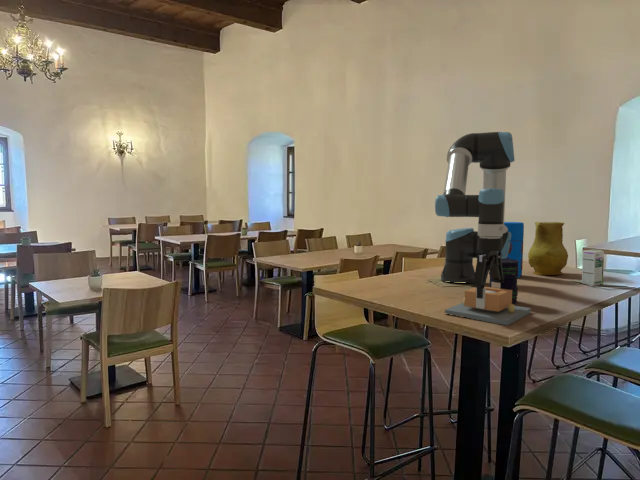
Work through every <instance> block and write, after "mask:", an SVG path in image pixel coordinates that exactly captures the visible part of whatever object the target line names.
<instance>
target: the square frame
mask: <svg viewBox="0 0 640 480" xmlns="http://www.w3.org/2000/svg"><path fill="white" fill-rule="evenodd" d="M484 288H486V291H495V292H497V293H488V292H486V299H485V310H492V311H498V312H499V311H501V310H503V309H505V308H507V307H508V304H512V290H507V289H500V288H492V287H489V286H485V287H484ZM464 298H465V305H464V306H467V307H473V308H476V287H472V288H469V289H466V290H464ZM479 309H480V308H479Z"/></svg>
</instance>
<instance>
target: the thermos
mask: <svg viewBox="0 0 640 480" xmlns="http://www.w3.org/2000/svg"><path fill="white" fill-rule="evenodd" d="M504 225H505V226H506V227H507V228H508V232H510V233H511V241H510V248H509V253H508V256H507V257H506V258H505V259H514V260H518V268H519V270H518V277H517V279H518V278H522V274H523V265H524V264H523V259H524V256H523V255H524V236H525V233H524V232H525V226H524V225H525V224H524V222H521V221H519V222H518V221H504Z"/></svg>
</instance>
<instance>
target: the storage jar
mask: <svg viewBox="0 0 640 480" xmlns="http://www.w3.org/2000/svg"><path fill="white" fill-rule="evenodd" d="M502 268H503V277H504V279H503V280H504V282H503V283H501V282H500V289H507V290H512V304H513V305H515V304H517V303H518V300H517V299H518V278H519V277H518V270H519V268H518V260H514V259H502ZM488 275H489V285H488V287H491V283H492V282H493V279H492V275H491V272H490V270H489V273H488ZM517 277H518V278H517Z"/></svg>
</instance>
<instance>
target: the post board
mask: <svg viewBox="0 0 640 480" xmlns="http://www.w3.org/2000/svg"><path fill="white" fill-rule="evenodd" d="M486 292H488V293H497V292H495V291H486ZM464 305H465V297H463V302H461V303H459V304H457V305H454V306H451V307H449V308H446V309H444V314H445V313H447V314H452V315H457V316H463V317H467V318H466V319H468V318H471V319H470V320H474V319H476V320H475V321H479V320H481V321H480V322H485V323H490V324H496V325H503V326H510V325H511V324H513V323H515V322H517V321H519V320H520V319H522V318H524V317H525V316H527V315H529V314H531V313H532V311H531V310H532V308H531V307H526V306H519V305H515V304H508V307H507V308H505V309H503V310H501V311H499V312H498V311H492V310H485V309H479V308H473V307H467V306H464ZM457 316H456V317H457Z"/></svg>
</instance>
